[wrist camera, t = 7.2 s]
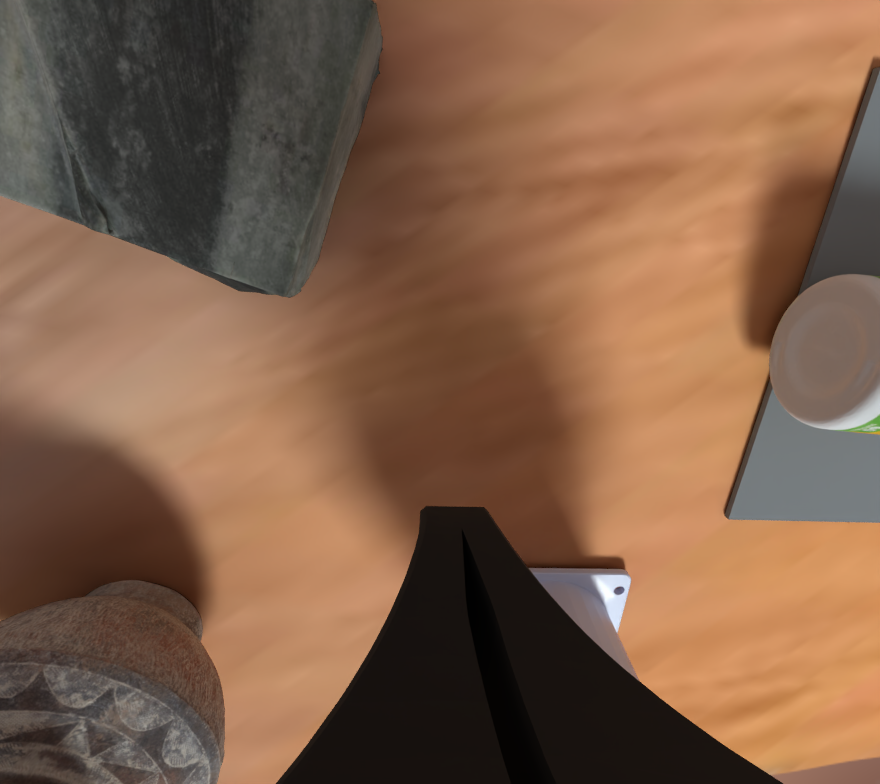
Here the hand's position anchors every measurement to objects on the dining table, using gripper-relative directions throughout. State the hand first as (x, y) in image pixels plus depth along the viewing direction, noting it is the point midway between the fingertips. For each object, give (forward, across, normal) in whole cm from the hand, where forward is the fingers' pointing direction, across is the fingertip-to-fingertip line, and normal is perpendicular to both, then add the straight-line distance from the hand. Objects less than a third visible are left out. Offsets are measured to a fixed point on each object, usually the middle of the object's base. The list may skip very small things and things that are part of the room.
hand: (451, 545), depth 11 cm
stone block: (+11, +10, -9) cm, 17 cm away
